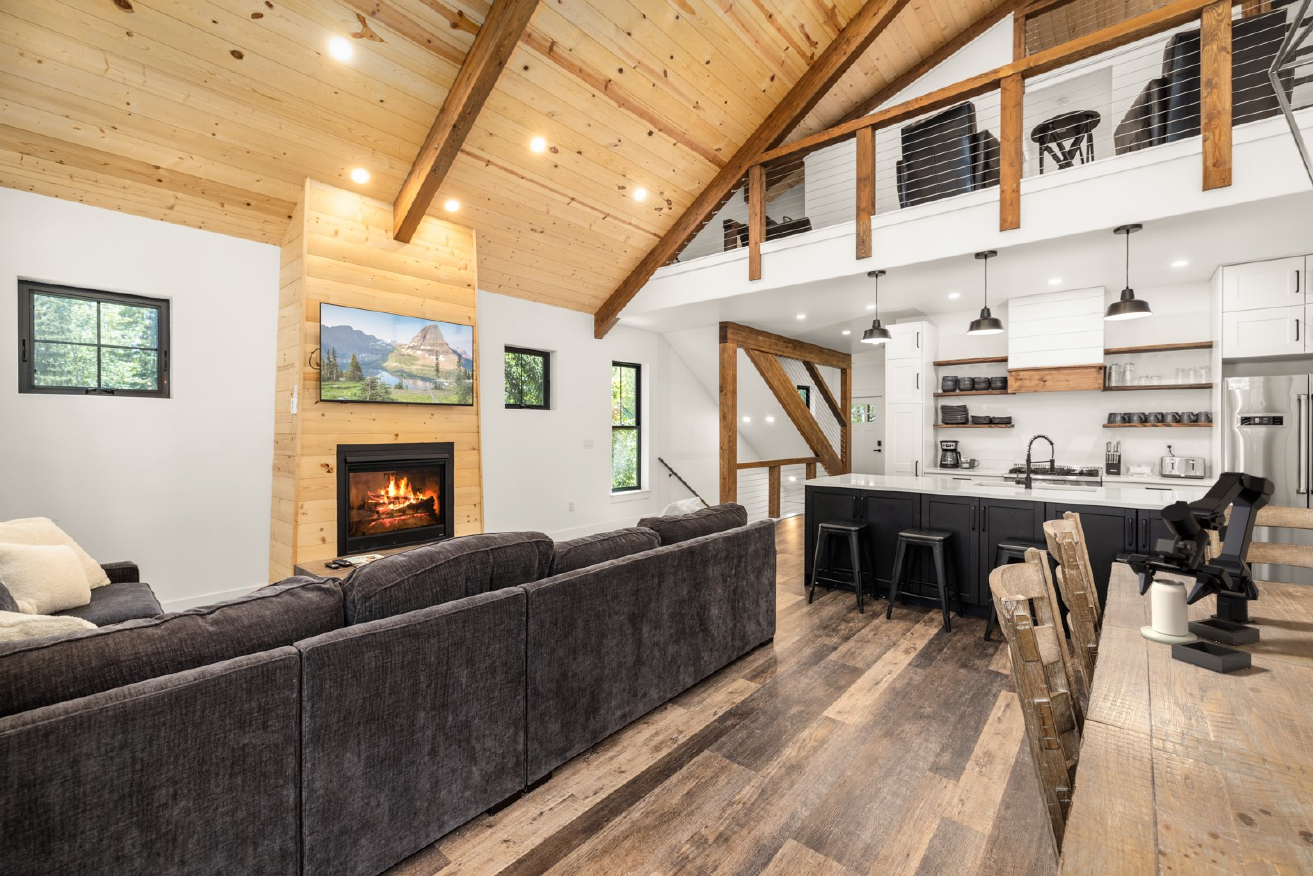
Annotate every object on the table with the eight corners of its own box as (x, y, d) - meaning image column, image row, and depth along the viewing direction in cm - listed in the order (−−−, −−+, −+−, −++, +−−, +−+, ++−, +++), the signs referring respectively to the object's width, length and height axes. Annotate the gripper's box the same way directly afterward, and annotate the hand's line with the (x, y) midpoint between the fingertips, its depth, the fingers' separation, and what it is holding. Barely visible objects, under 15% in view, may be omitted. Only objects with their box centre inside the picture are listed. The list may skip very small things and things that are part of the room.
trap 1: (1200, 652, 129) (1199, 639, 129) (1251, 667, 121) (1251, 653, 121) (1171, 658, 127) (1171, 644, 127) (1221, 673, 118) (1221, 659, 118)
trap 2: (1213, 629, 144) (1212, 617, 144) (1259, 642, 135) (1259, 629, 135) (1187, 634, 141) (1187, 621, 141) (1233, 646, 132) (1233, 633, 132)
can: (1184, 630, 139) (1182, 580, 139) (1192, 638, 134) (1190, 586, 134) (1149, 626, 143) (1148, 577, 143) (1155, 634, 137) (1154, 583, 137)
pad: (1159, 629, 145) (1159, 623, 145) (1207, 642, 135) (1207, 636, 135) (1130, 634, 142) (1130, 628, 142) (1177, 648, 132) (1177, 641, 132)
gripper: (1129, 522, 148) (1105, 570, 144) (1225, 532, 131) (1200, 587, 127) (1147, 549, 152) (1124, 597, 147) (1243, 563, 135) (1220, 617, 130)
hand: (1164, 599), depth 138 cm, fingers open, 9 cm apart
